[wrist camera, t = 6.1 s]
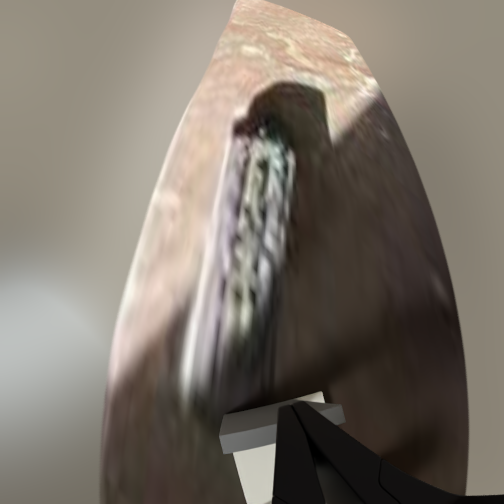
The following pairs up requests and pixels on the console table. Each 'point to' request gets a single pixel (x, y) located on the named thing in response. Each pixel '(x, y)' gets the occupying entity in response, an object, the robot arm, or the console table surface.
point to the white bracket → (263, 443)
